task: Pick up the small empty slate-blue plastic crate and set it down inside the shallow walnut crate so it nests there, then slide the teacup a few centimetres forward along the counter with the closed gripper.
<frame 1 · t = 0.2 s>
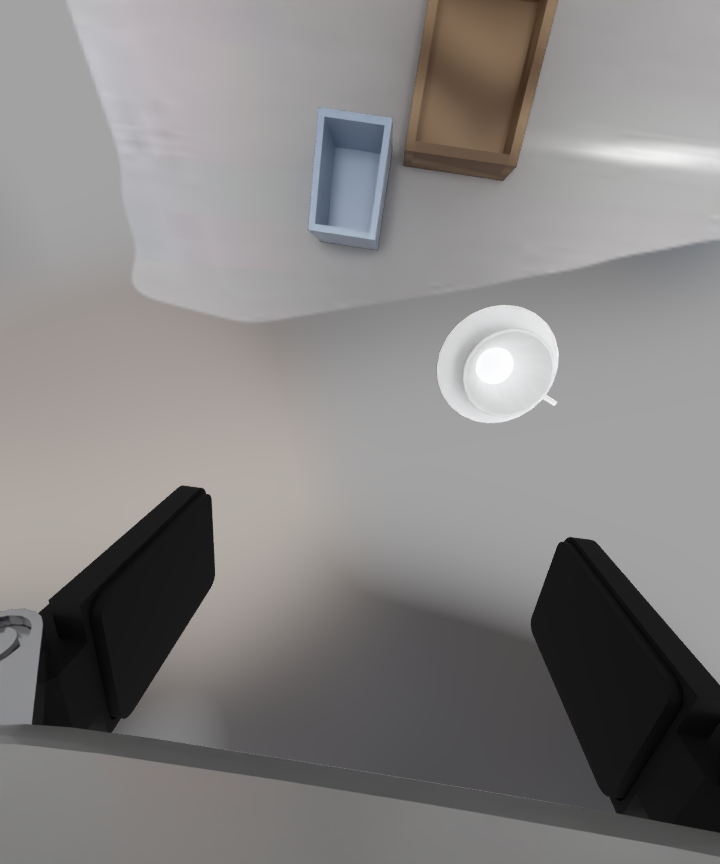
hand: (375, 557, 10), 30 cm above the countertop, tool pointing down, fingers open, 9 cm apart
walnut crate: (470, 88, 30), on the countertop
slate crate: (355, 198, 33), on the countertop
teacup: (492, 364, 37), on the countertop
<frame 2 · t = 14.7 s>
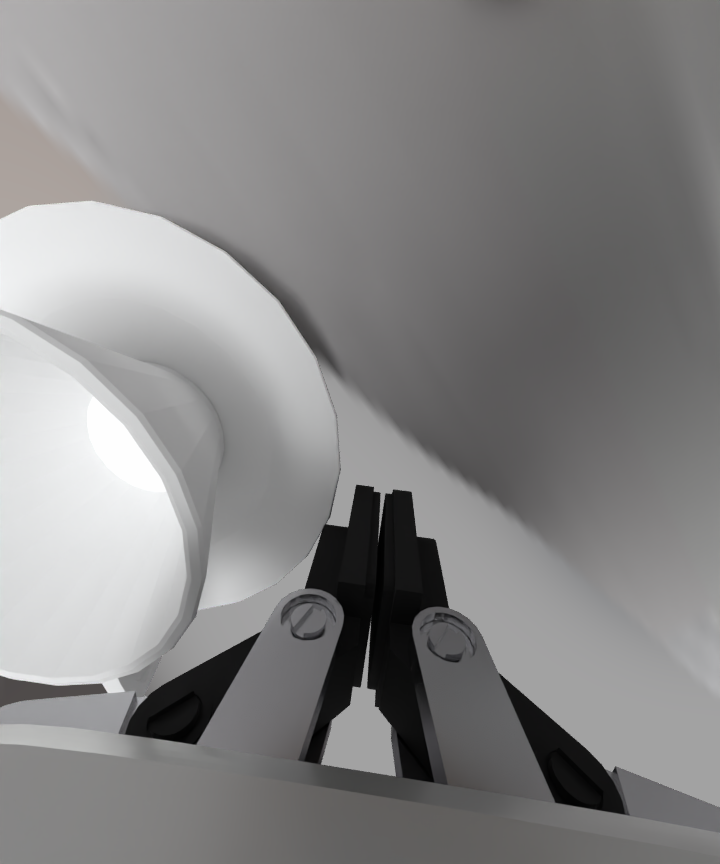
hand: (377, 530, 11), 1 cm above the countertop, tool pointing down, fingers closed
teacup: (162, 428, 12), on the countertop, touching gripper
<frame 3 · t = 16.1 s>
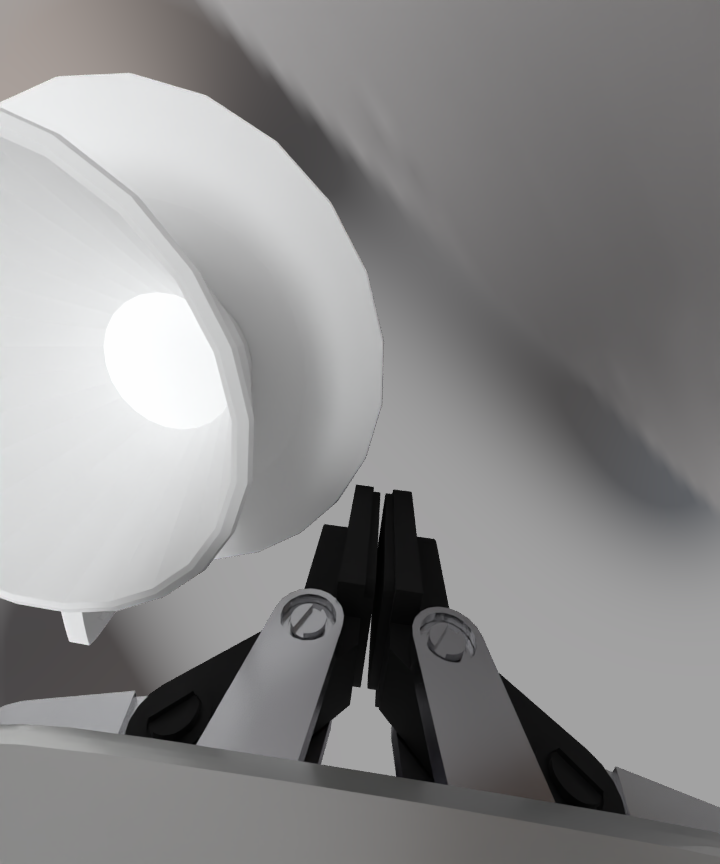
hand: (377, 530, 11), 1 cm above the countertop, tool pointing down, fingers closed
teacup: (184, 360, 11), on the countertop, touching gripper
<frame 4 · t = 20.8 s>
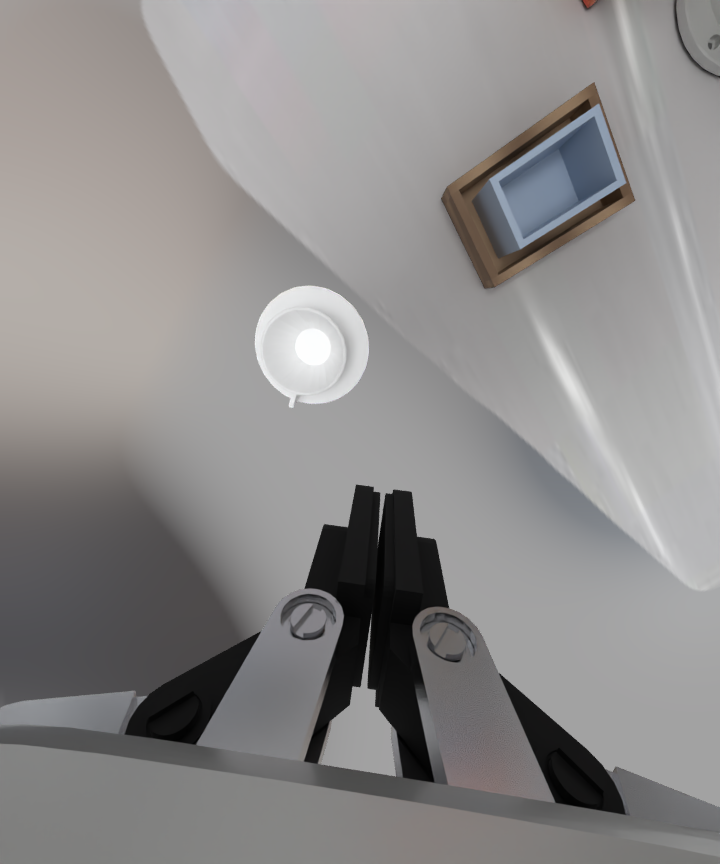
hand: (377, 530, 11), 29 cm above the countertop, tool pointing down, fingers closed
walnut crate: (524, 204, 32), on the countertop
slate crate: (527, 202, 31), point 1 cm above the countertop, touching walnut crate
teacup: (314, 346, 38), on the countertop
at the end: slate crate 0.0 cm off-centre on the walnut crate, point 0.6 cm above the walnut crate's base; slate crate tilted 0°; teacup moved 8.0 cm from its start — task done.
